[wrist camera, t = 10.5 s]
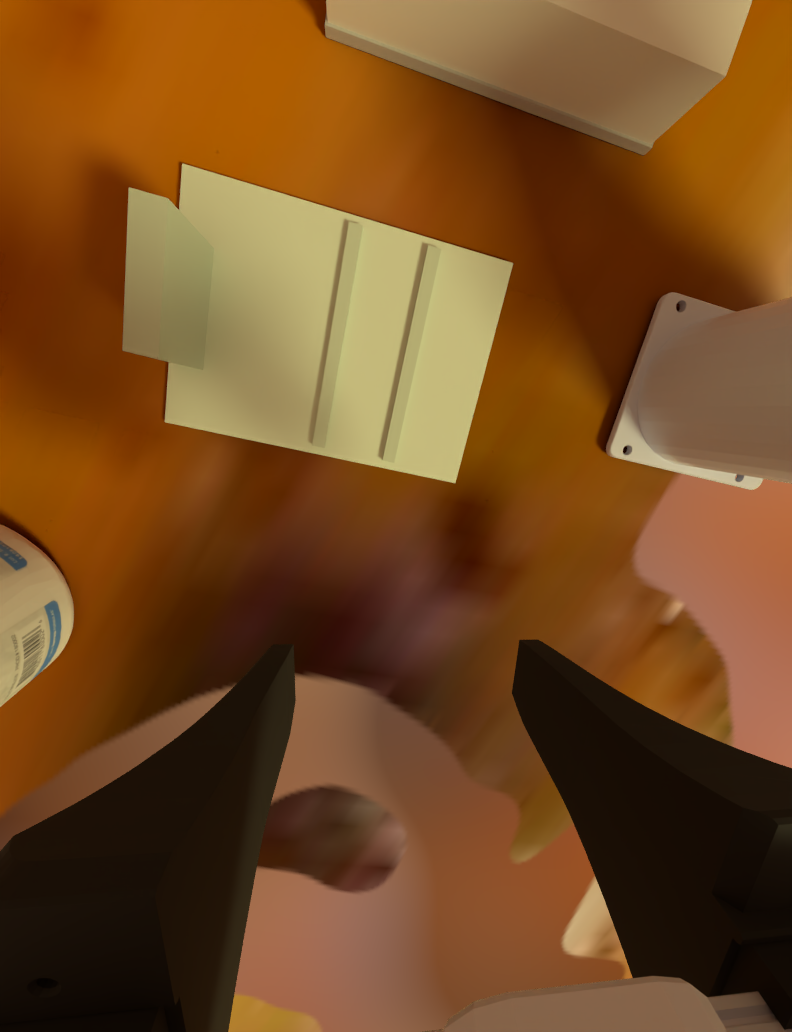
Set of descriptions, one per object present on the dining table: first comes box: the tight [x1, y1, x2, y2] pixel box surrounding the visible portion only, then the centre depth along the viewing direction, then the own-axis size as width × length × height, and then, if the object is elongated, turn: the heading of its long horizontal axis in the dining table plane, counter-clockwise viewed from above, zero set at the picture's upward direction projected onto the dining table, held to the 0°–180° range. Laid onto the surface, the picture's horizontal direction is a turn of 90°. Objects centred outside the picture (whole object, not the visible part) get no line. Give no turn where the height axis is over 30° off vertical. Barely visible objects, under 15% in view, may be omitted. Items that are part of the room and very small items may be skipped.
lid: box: [122, 163, 513, 483], centre depth 16 cm, size 14×10×5 cm
